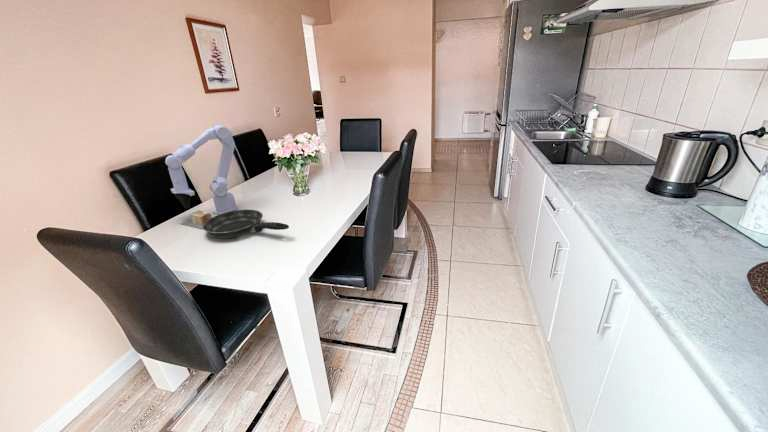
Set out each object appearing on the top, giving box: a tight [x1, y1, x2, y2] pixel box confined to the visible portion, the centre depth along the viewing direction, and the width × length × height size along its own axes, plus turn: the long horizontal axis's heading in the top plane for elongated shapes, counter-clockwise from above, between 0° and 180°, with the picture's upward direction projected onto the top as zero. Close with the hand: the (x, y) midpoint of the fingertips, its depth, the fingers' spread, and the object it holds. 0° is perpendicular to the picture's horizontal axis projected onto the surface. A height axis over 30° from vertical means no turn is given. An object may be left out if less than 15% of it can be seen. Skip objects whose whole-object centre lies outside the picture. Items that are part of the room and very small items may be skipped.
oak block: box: [189, 210, 212, 225], centre depth 151 cm, size 5×4×8 cm
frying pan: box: [202, 209, 290, 239], centre depth 138 cm, size 44×25×7 cm, turn 65°
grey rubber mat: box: [179, 218, 203, 230], centre depth 152 cm, size 11×18×1 cm, turn 64°
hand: (187, 207), depth 153 cm, fingers closed
